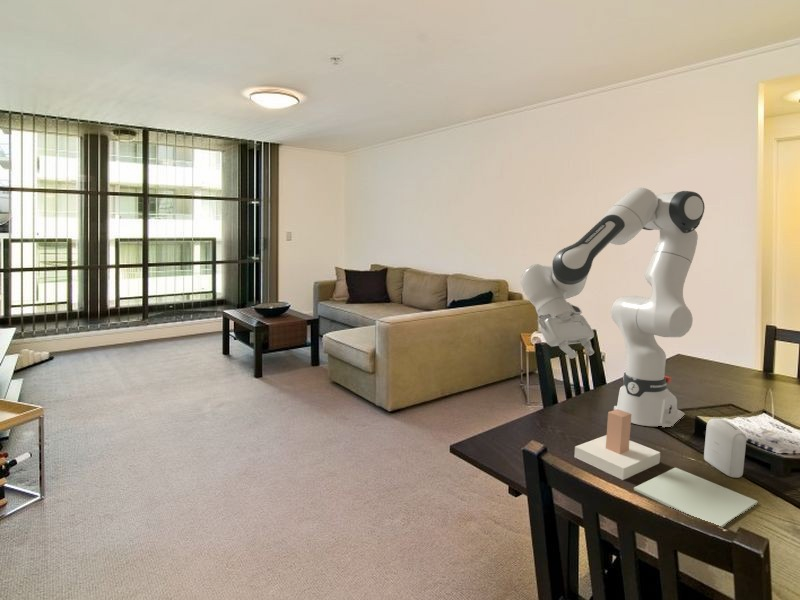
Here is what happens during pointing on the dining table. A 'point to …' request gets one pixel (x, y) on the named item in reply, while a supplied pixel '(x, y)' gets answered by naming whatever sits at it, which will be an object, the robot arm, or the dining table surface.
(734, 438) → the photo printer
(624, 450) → the block
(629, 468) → the block
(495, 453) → the dining table surface
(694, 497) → the mat
